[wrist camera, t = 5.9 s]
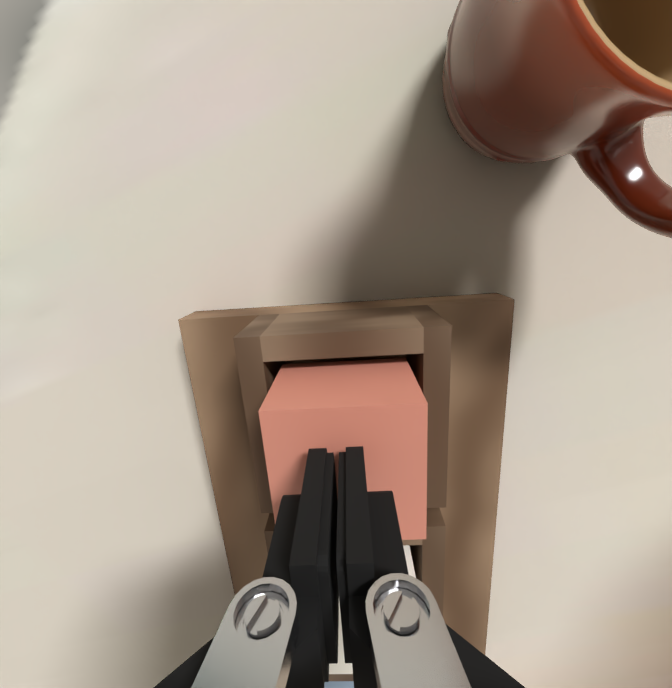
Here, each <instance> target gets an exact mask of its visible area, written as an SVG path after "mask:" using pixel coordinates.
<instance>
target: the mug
mask: <svg viewBox="0 0 672 688" xmlns="http://www.w3.org/2000/svg"><path fill="white" fill-rule="evenodd" d="M442 83H443V95H444V101H445V105H446V109H447V112H448V115H449V118H450V120H451V122H452V124H453V126H454V128H455V129H456V131H457V132H458V134H459V135H460V136H461V138H462V139H463V140H464V141H465V142H466V143H467V144H468V145H469V146H470V147H472V148H473V149H474V150H476V151H477V152H479V153H481V154H482V155H484V156H487V157H489V158H492V159H495V160H497V161H502V162H511V163H534V162H542V161H547V160H552V159H555V158H558V157H561V156H564V155H566V154H570V155H572V156H573V157H574V158H575V160H576V161H577V163H578V165H579V166H580V168H581V170H582V171H583V173H584V174H585V175H586V176H587V178H588V179H589V180H590V181H591V182H592V183H593V184H594V185H595V186H596V187H597V188H598V189H599V190H600V191H601V192H602V193H603V194H604V195H605V196H606V197H607V198H608V199H609V201H610V202H611V203H612V204H613V205H614V206H615V207H616V208H617V209H618V210H619V211H620V212H621V213H622V214H623V215H624V216H626V217H627V218H628V219H630V220H631V221H633V222H634V223H636V224H638V225H639V226H641V227H643V228H645V229H647V230H649V231H652V232H654V233H657V234H660V235H663V236H666V237H670V238H672V187H671V186H669V185H668V184H666V183H665V182H664V181H663V180H662V179H660V178H659V177H658V175H657V174H656V173H655V172H654V170H653V169H652V167H651V166H650V164H649V161H648V159H647V156H646V153H645V148H644V142H643V124H644V120H645V119H647V118H652V117H660V116H672V0H460V1H459V4H458V6H457V9H456V12H455V14H454V18H453V21H452V23H451V25H450V27H449V30H448V35H447V45H446V54H445V59H444V66H443V81H442Z"/></svg>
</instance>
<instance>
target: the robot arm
mask: <svg viewBox="0 0 672 688" xmlns="http://www.w3.org/2000/svg"><path fill="white" fill-rule="evenodd" d="M339 602H340V613H341V625H342V636H343V648H344V659H345V663H352V668H353V681H354V688H525V687H524V686H522V685H521V684H520V683H519V682H517V681H516V680H515V679H514V678H512V677H511V676H510V675H509V674H508V673H506V672H505V671H504V670H503V669H501V668H500V667H499V666H498V665H496V664H495V663H494V662H493V661H491V660H490V659H489V658H488V657H486V656H485V655H484V654H483V653H481V652H480V651H479V650H478V649H476V648H475V647H474V646H473V645H472V644H470V643H469V642H468V641H467V640H465V639H464V638H463V637H462V636H460V635H459V634H458V633H457V632H455V631H454V630H453V629H452V628H450V627H449V626H448V625H447V624H445V622H444V619H443V617H442V614H441V612H440V609H439V607H438V604H437V602H436V600H435V598H434V596H433V594H432V593H431V591H430V589H429V588H428V587H427V586H426V585H425V584H424V583H423V582H422V581H420V580H418V579H416V578H415V577H413V576H410V575H409V574H408V568H407V563H406V558H405V553H404V548H403V542H402V537H401V532H400V527H399V521H398V516H397V511H396V506H395V501H394V496H393V492H392V491H369V492H367V483H366V472H365V461H364V450H363V446H356V447H346V452H339V469H338V499H337V486H336V474H335V462H334V453H333V452H332V453H327V448H313V449H309V450H308V455H307V461H306V467H305V473H304V479H303V485H302V491H301V494H295V495H283V496H282V499H281V502H280V506H279V511H278V515H277V519H276V523H275V527H274V531H273V535H272V539H271V544H270V548H269V552H268V556H267V560H266V564H265V568H264V572H263V577H262V578H260V579H257V580H254V581H252V582H250V583H249V584H247V585H246V586H244V587H243V588H242V589H241V590H240V591H239V592H238V593H237V594H236V595H235V596H234V598H233V600H232V601H231V603H230V605H229V606H228V609H227V611H226V613H225V615H224V617H223V620H222V622H221V624H220V626H219V628H218V630H217V633H216V635H215V637H214V638H213V639H211V640H210V641H209V642H208V643H207V644H205V645H204V646H203V647H202V648H201V649H199V650H198V651H197V652H196V653H195V654H193V655H192V656H191V657H190V658H189V659H187V660H186V661H185V662H184V663H183V664H181V665H180V666H179V667H178V668H177V669H176V670H174V671H173V672H172V673H171V674H170V675H168V676H167V677H166V678H165V679H164V680H162V681H161V682H160V683H159V684H158V685H156V686H155V687H154V688H324V683H325V682H329V664H337V663H338V626H339Z"/></svg>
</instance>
